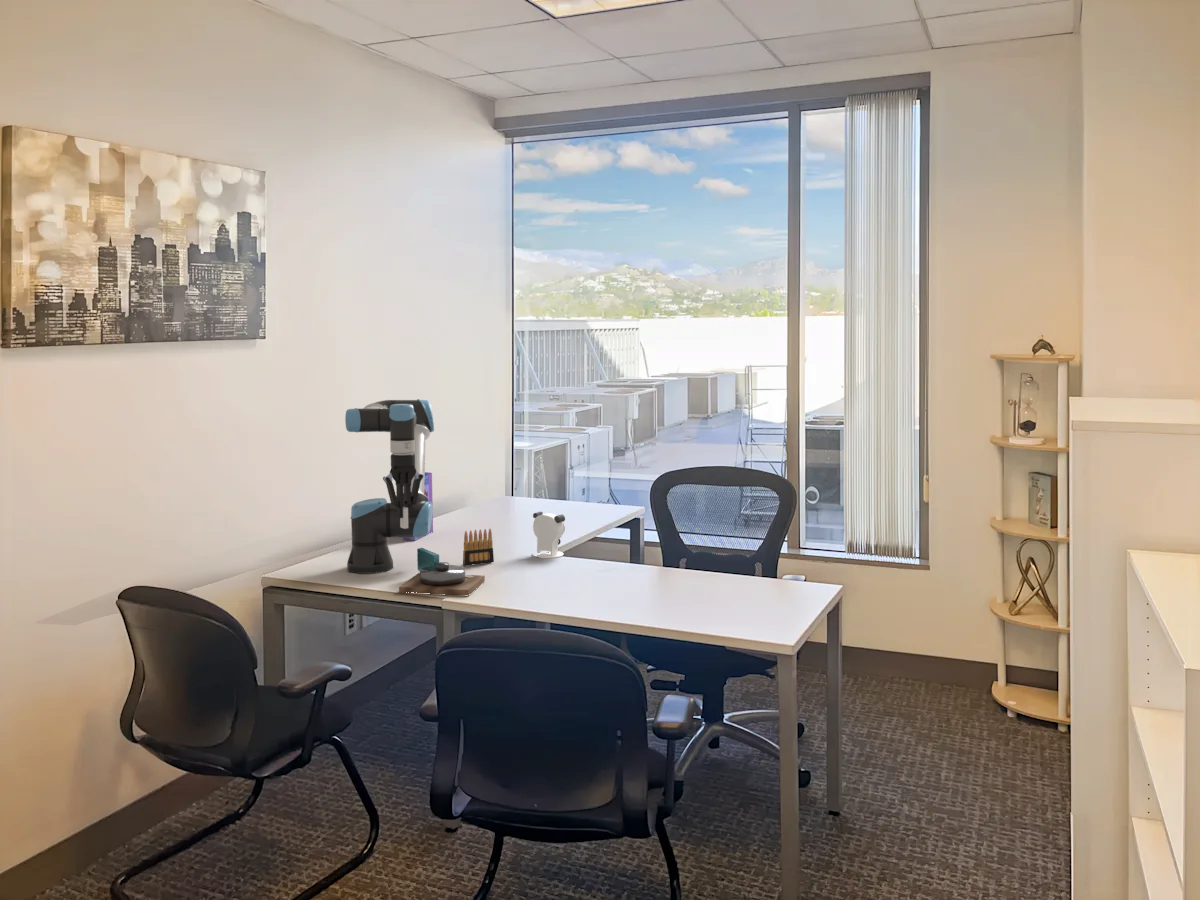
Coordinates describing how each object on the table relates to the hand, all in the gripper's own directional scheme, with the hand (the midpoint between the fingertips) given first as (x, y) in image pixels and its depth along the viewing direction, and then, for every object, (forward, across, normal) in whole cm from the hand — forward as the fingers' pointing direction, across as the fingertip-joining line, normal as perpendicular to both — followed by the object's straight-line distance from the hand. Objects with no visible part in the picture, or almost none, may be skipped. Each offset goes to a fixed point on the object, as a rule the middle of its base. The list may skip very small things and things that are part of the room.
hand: (404, 527), depth 316 cm
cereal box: (+18, +36, +65) cm, 76 cm away
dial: (+15, +8, -6) cm, 18 cm away
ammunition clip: (+18, +32, +11) cm, 39 cm away
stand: (+18, +8, -11) cm, 22 cm away
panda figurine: (+18, +59, +8) cm, 62 cm away
